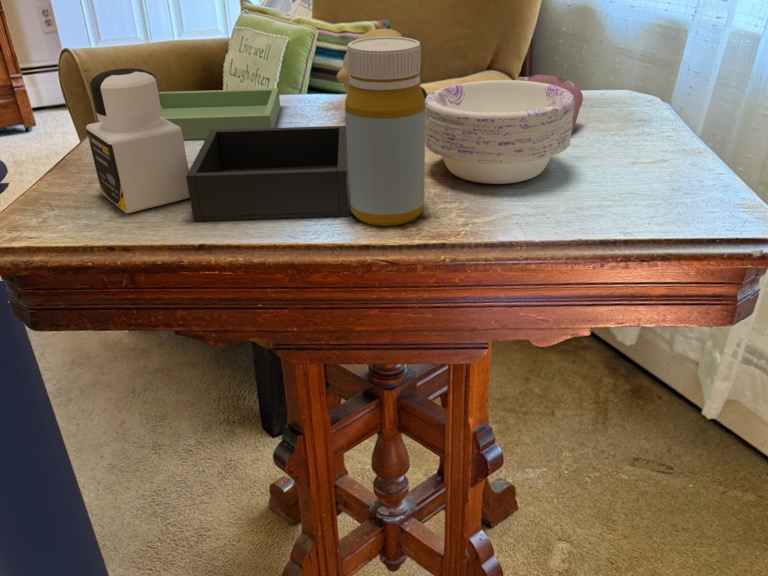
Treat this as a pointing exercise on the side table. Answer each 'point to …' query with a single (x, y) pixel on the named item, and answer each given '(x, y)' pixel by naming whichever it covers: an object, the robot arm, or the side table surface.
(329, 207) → the bin
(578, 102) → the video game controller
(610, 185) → the side table surface
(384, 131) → the bottle
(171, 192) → the medicine bottle
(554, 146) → the paper bowls
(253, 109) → the tray
